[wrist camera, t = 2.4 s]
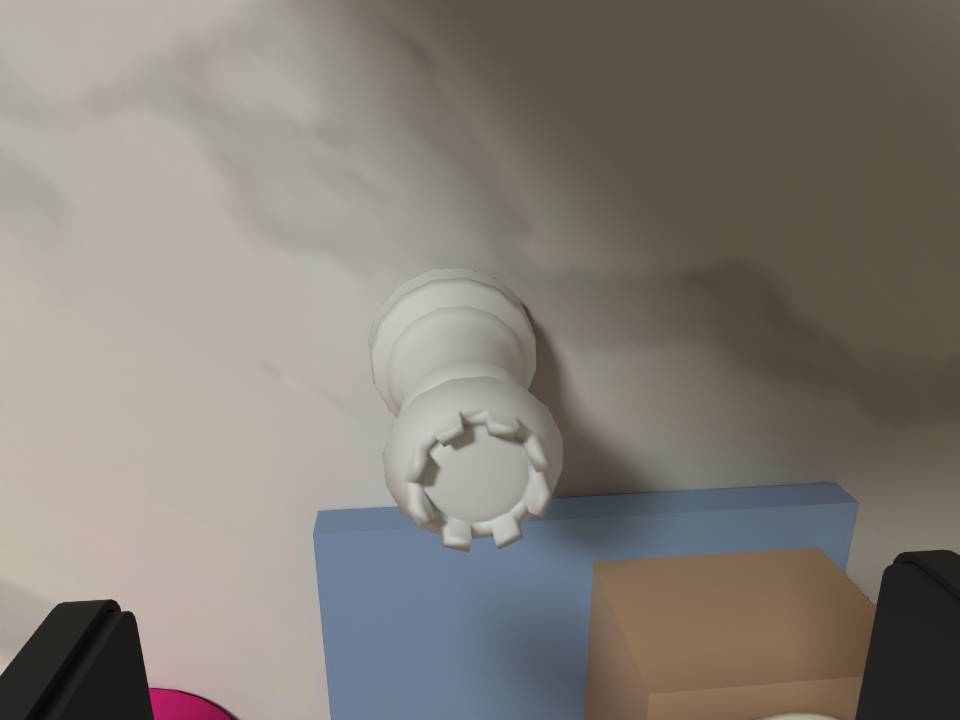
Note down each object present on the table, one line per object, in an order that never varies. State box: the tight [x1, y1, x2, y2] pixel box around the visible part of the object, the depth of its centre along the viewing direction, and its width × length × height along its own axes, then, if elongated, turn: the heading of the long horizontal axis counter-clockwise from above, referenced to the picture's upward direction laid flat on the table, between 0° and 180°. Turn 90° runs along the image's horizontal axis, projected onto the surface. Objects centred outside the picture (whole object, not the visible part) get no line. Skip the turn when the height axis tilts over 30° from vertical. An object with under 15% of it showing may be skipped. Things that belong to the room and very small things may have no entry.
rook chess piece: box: [369, 268, 563, 553], centre depth 15 cm, size 4×4×8 cm
